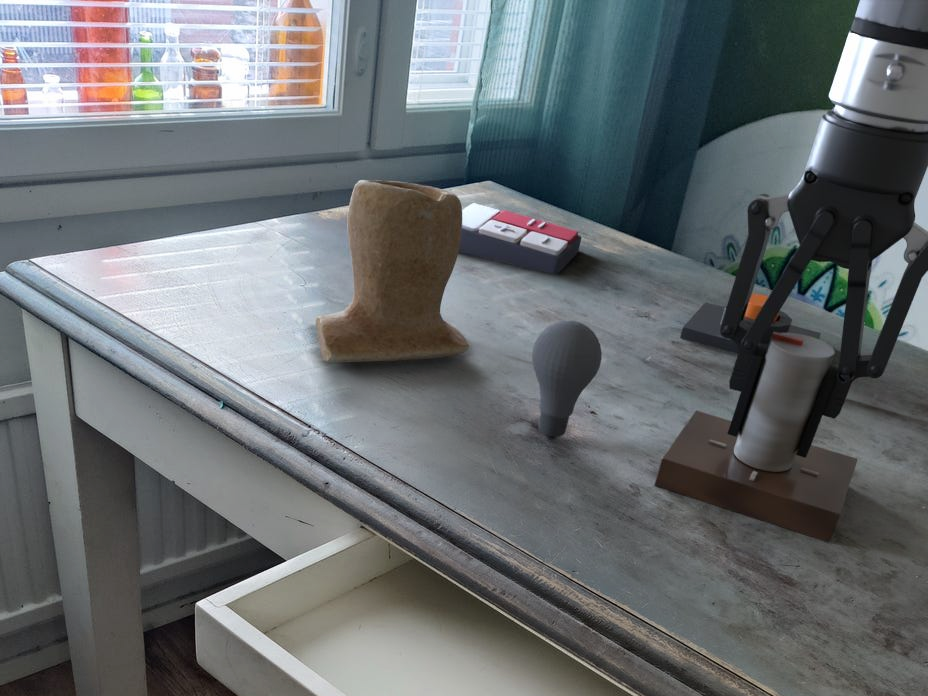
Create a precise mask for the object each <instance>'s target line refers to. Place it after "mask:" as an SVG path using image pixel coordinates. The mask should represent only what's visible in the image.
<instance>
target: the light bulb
mask: <svg viewBox="0 0 928 696" xmlns="http://www.w3.org/2000/svg"><path fill="white" fill-rule="evenodd" d="M531 354H532V355H531V356H532V357H531V359H532V367H533V371H534V373H535V375H536V379H537V383H538V386H539V404H538V407H539V411H540V413H539V419H538V420H539V421H538V430H539V432H540V433H541V434H542V435H543V436H545V438H547V439H549V440H554V439H555V440H556V438H559V437H563V435H564V434H565V433H566V430H567V427H568V424H569V419H570V417H571V416H572V415H573V413H574V409H575V405H576V403H577V401H578V399H579V397H580V395H581V394H582V392H583V391H584V390H585V389H586V388H587V387H588V386H589V384H590V383H591V382H592V381H593V379H594V378H595V377H596V375H597V374H598V372H599V369H600V367H601V362H602V358H603V357H602V355H603V353H602V348H601V343H600V340H599V338H598V337H597V334H596V333H595V332H594V331H593V329H591V328H590V327H589V326H588V325H586V324H584V323H583V322H580V321H577V320H571V319H565V320H559V321H556V322H554V323H551V324H550V325H548V326H547V327H546V328H544V329H543V330H542V331H541V332H540V333H539V335H538V337H537V338H536V340H535V342H534V345H533V346H532V353H531Z"/></svg>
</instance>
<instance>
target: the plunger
mask: <svg viewBox="0 0 928 696" xmlns="http://www.w3.org/2000/svg"><path fill="white" fill-rule="evenodd" d="M768 297H769V295H765V294H758V293H752V294H751V297H750V301H749V304H748V307H747V310H746V313H745V316H746V317H748V318H750V319H754V320H755V318H756V316H757V315H758V313H759V312H760V310H761V308H762V307H763V305H764V303H765V302H766V300H767V298H768ZM780 311H781V310H780ZM780 311H779V312H780ZM779 312H778V314H777V316H776V317H775V319H774V320H773V322H776V321H777V318H778V315H779Z"/></svg>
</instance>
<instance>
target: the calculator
mask: <svg viewBox="0 0 928 696" xmlns="http://www.w3.org/2000/svg"><path fill="white" fill-rule="evenodd" d="M581 242H582V236H581V235H579V231H578V230H576V229H572V228H568V227H566V226H565V227H564V226H561V225H558V224H554V223H552V222H547V221H544V220H540V219H538V218H533V217H530V216H527V215H523V214H520V213H516V212H513V211H510V210H509V211H508V210H502V211H500V210H499V209H497V208H493V207H489V206H485V205H482V204H478V203H471V204H469V205H467V206H466V207H465V208H462V231H461V241H460V248H459V252H458V253H462V254H467V255H471V256H475V257H480V258H484V259H488V260H493V261H496V262H501V263H505V264H510V265H514V266H518V267H522V268H526V269H530V270H533V271H534V270H536V271H538V272H539V271H540V272H543V273H548V274H551V275H558V274H559V273H560V272H561V271H562V270H563V269H564V268H565V267H566V266H567V265H568V264H569V263H570V262H571V260H572V259H574V257H576V255H577V254H578V253H579V251H580V246H581Z"/></svg>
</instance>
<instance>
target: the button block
mask: <svg viewBox="0 0 928 696" xmlns="http://www.w3.org/2000/svg"><path fill="white" fill-rule="evenodd" d="M726 307H727V304H726V305H725V306H721V305H718V304H715V303H710V302H707V301H705V302H704V303H703V304H702V305H701V306H700V308H699V309H697V311H696V312H695V313H694V314H693V315H692V316H691V318H690V319H688V321H687V322H686V323H685V324H684V325H683V326H682V329H681V333H680V335H679V339H682V340H685V341H688V342H689V341H690V342H693V343H697V344H700V345H702V346H703V345H704V346H706V347H707V346H708V347H711V348H714V349H718V350H721V351H725V352H729V353H732V354H735V355H738V351H739V349H738V346H737V344H736V343H735V342H734V341H732V340H731V339H729V338H724V337H723V336H722V335H721V333H720V327H721V324H722V321H723V317H724V314H725V311H726ZM743 321H744V322H746V323H747V324H749V325H750V326H751V325H752V323H753V321H754V319H750V318H748V317H746V316H744V320H743ZM792 323H793V319H792V318H791V317H790V316H789V315H788V314H787V312H785V311H783V310H780V312H779V315H778V318H777V321H776V322H772V324H771V325H770V327H769V329H768V330H767V332H766V333H765V335H764V337H763V338H762V340H761V342H760V345H759V346H763V347H766V348H767V347H768V344H769V341H770V338H771V337H772V334H773V332H778V333H797V334H802V335H807V336H810V337H813V338H816V339H819V340H820V338H821V335H822V333H821V332H819V331H814V330H811V329H807V328H804V327H800V326H796V325H792Z"/></svg>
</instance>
